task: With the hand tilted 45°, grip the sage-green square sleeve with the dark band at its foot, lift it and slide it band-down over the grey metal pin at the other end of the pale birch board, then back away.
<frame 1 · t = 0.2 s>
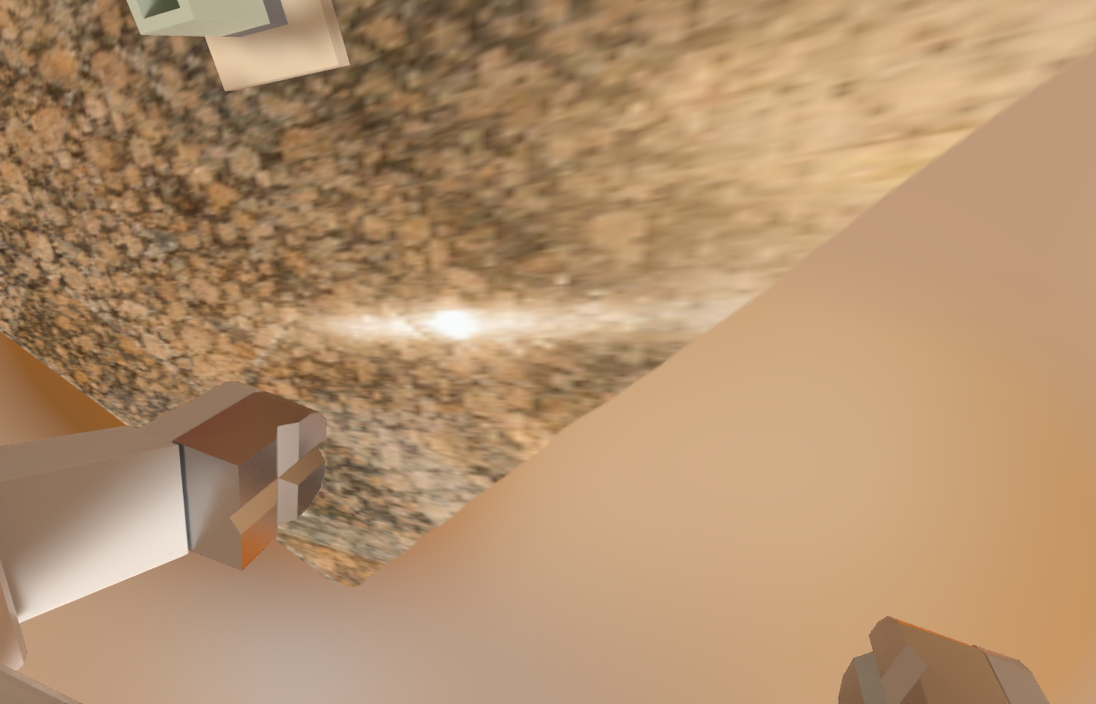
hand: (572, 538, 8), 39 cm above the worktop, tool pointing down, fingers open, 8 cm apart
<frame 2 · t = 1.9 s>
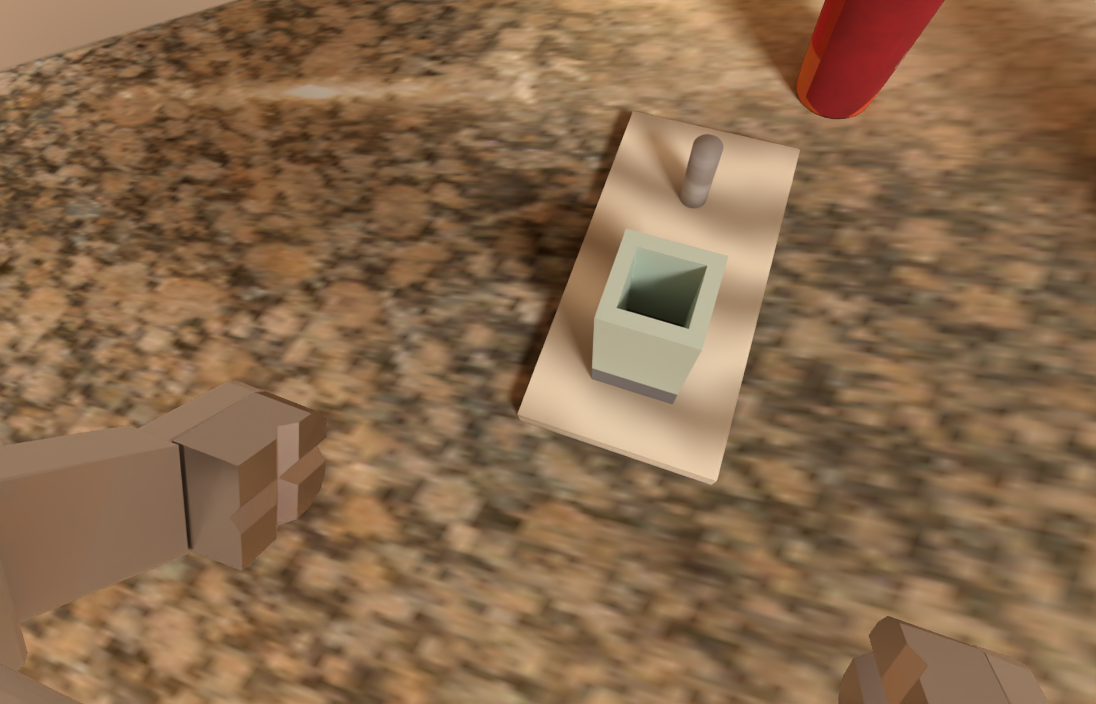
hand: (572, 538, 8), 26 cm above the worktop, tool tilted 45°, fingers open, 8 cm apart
sleeve: (643, 354, 35), point 1 cm above the worktop, touching pin board
paper cup: (831, 91, 43), on the worktop
pin board: (666, 282, 38), on the worktop
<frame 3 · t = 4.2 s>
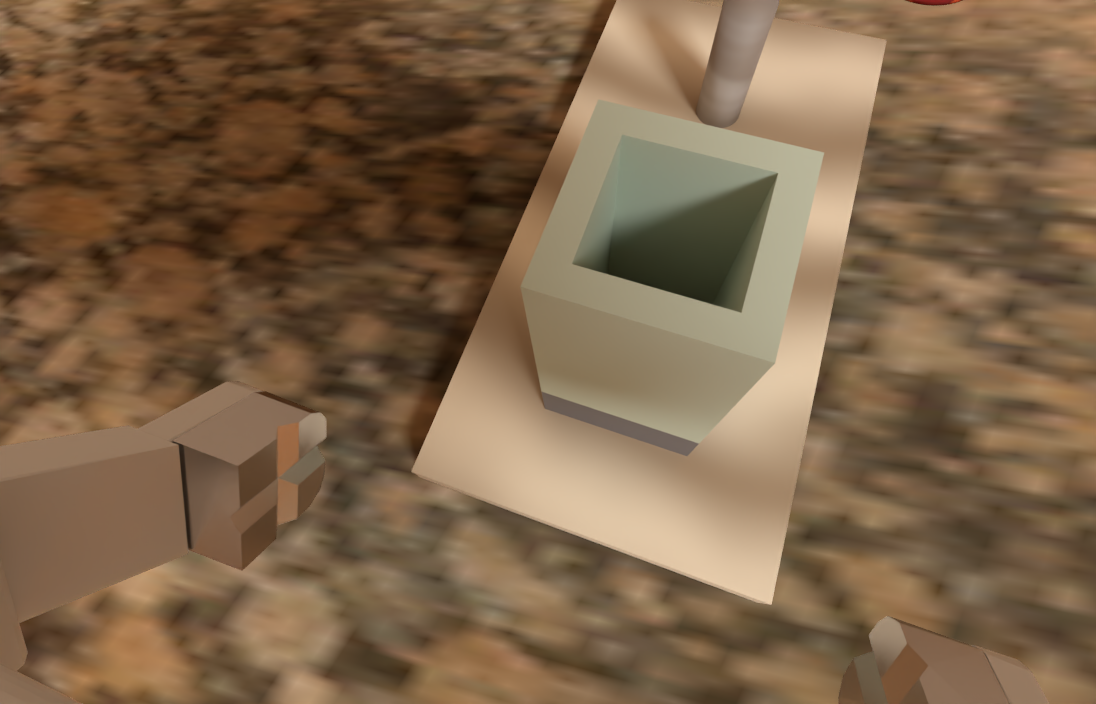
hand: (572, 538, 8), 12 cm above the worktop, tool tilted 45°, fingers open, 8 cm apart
sleeve: (635, 365, 20), point 1 cm above the worktop, touching pin board
pin board: (674, 247, 23), on the worktop
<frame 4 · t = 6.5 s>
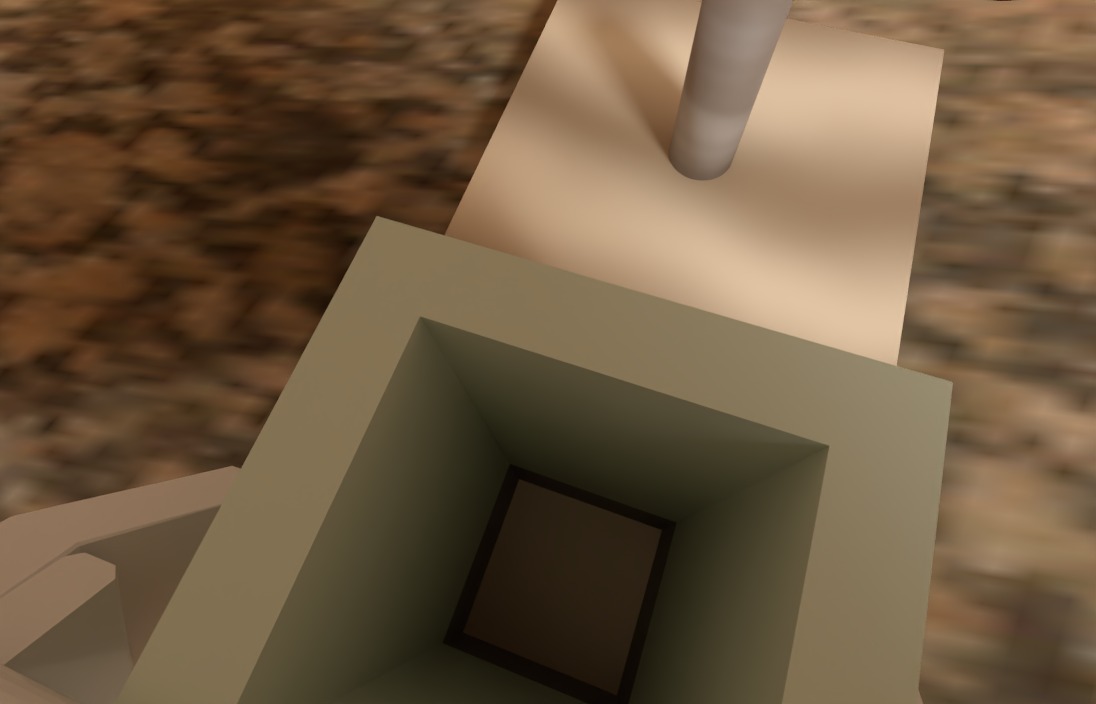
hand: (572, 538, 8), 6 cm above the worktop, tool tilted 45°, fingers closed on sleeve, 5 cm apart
sleeve: (564, 580, 12), point 2 cm above the worktop, touching gripper, pin board
pin board: (636, 359, 16), on the worktop
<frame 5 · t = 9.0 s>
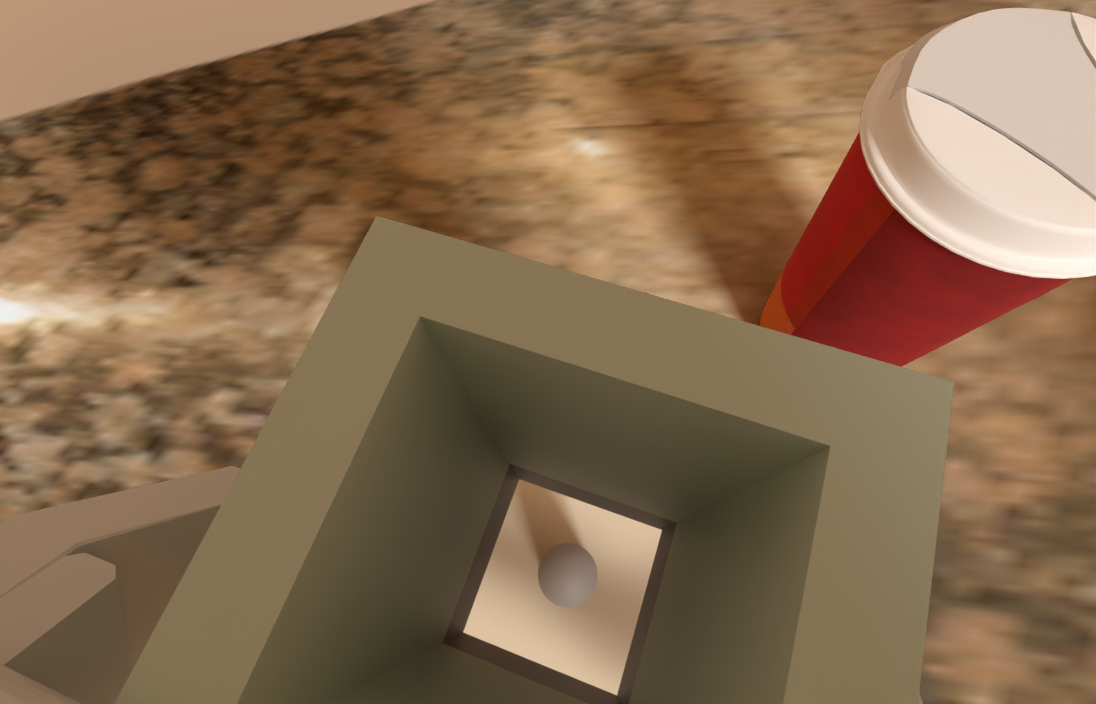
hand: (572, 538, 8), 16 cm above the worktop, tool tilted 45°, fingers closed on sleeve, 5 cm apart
sleeve: (564, 580, 12), point 12 cm above the worktop, touching gripper
paper cup: (816, 337, 27), on the worktop
when the fingers open (8 cm above the worktop, at t = 11.4 s): sleeve drops 2 cm, resting on pin board.
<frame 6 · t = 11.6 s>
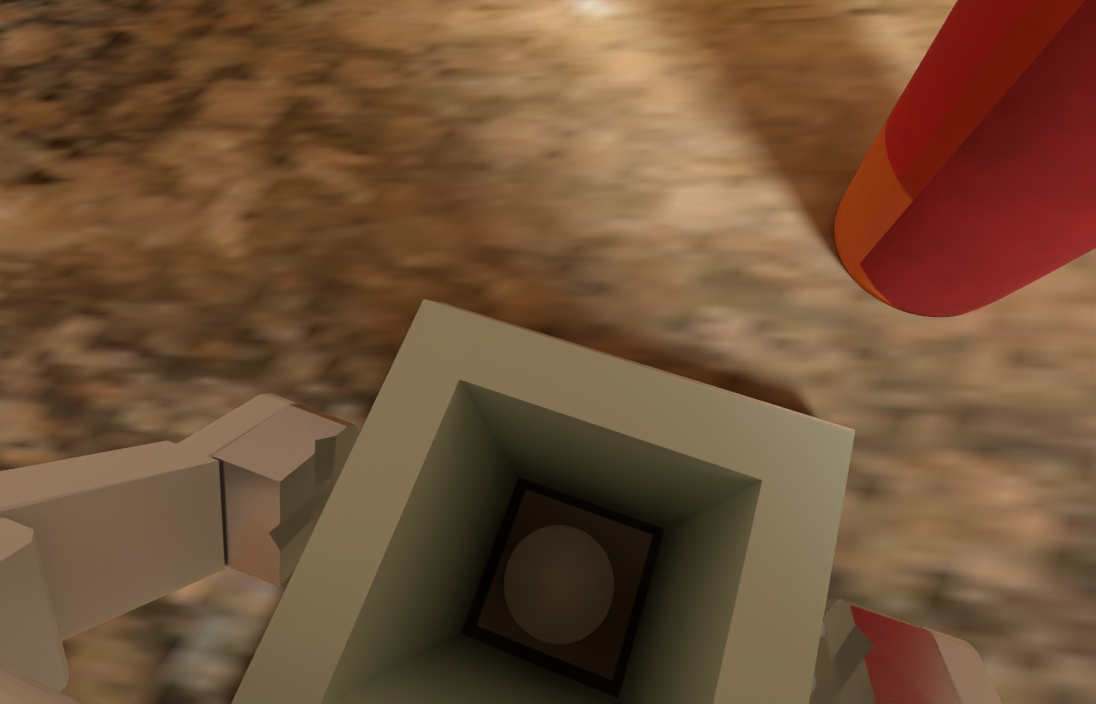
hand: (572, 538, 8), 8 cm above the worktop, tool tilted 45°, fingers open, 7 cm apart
sleeve: (566, 579, 14), point 1 cm above the worktop, touching pin board
paper cup: (915, 242, 19), on the worktop
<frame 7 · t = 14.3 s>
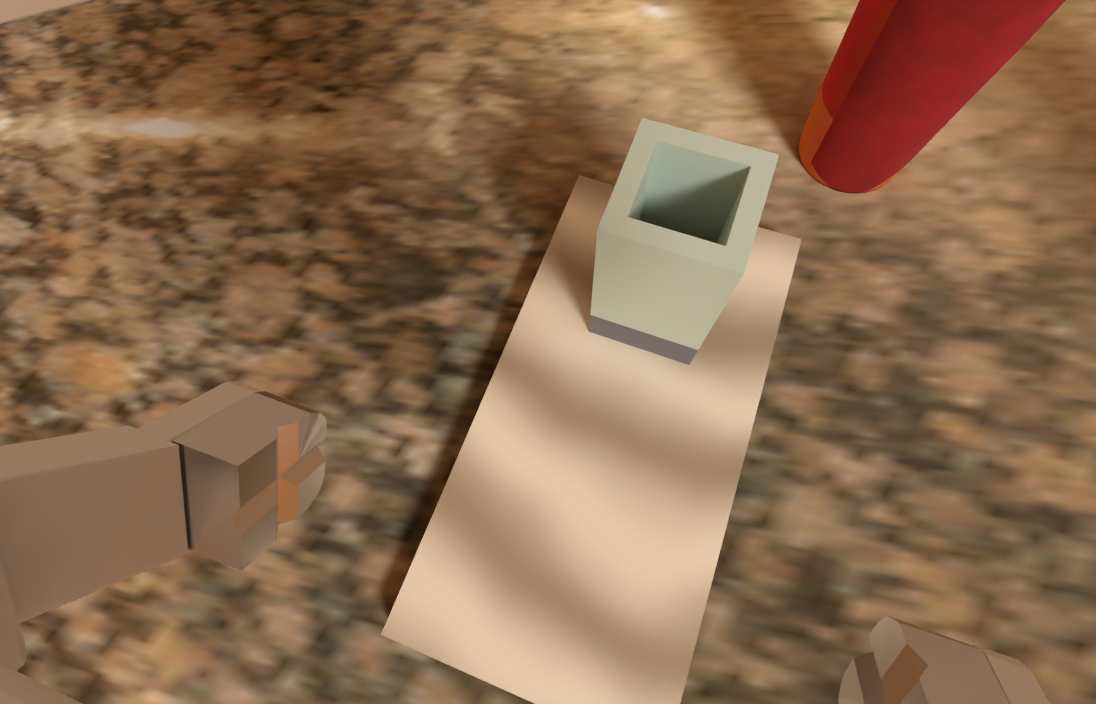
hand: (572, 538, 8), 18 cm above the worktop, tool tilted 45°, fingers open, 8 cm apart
sleeve: (653, 303, 28), point 1 cm above the worktop, touching pin board
paper cup: (845, 154, 33), on the worktop
pin board: (611, 422, 28), on the worktop
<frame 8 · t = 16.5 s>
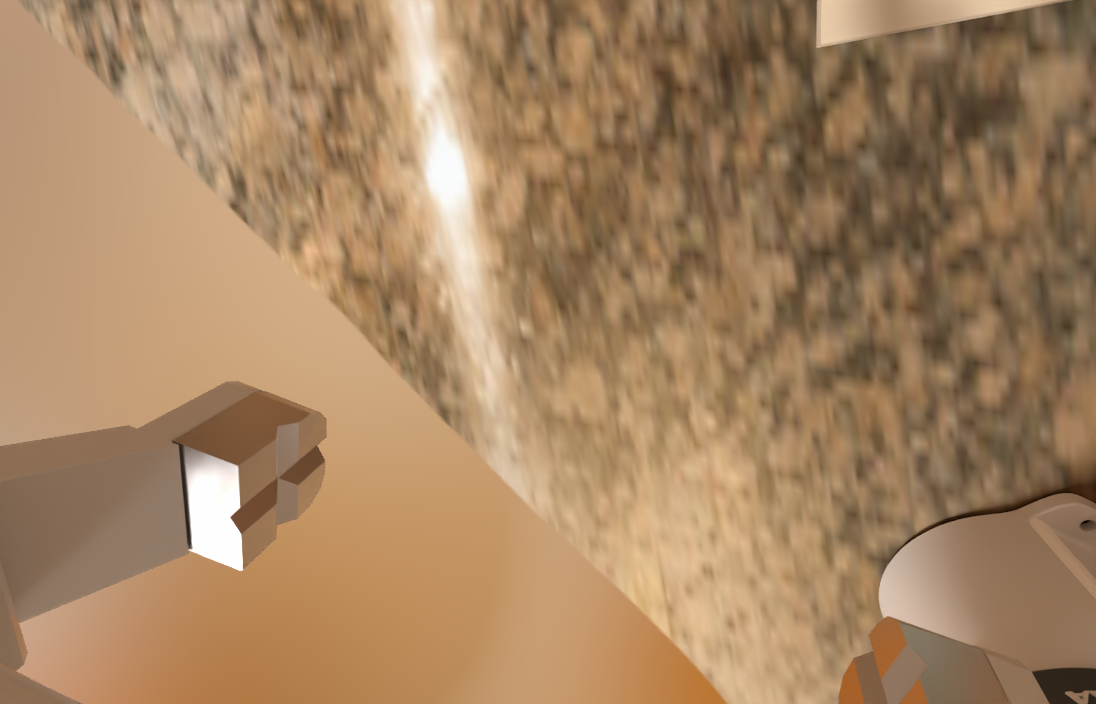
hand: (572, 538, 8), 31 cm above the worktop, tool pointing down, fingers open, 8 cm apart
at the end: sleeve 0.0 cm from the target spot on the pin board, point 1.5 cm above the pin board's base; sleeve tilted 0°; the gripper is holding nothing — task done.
